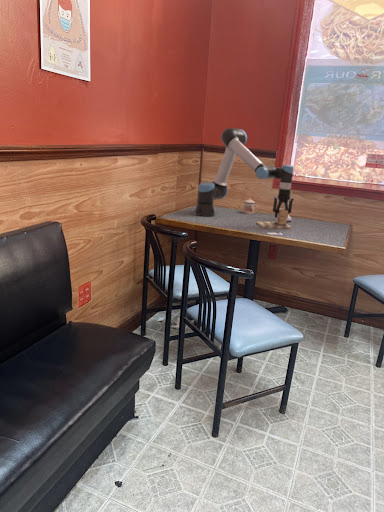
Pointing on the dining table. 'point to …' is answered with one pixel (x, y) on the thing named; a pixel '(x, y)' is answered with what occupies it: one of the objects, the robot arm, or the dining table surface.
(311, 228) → the dining table surface
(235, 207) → the dining table surface
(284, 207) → the flower in vase
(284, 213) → the block
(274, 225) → the board
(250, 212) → the teacup with lid
